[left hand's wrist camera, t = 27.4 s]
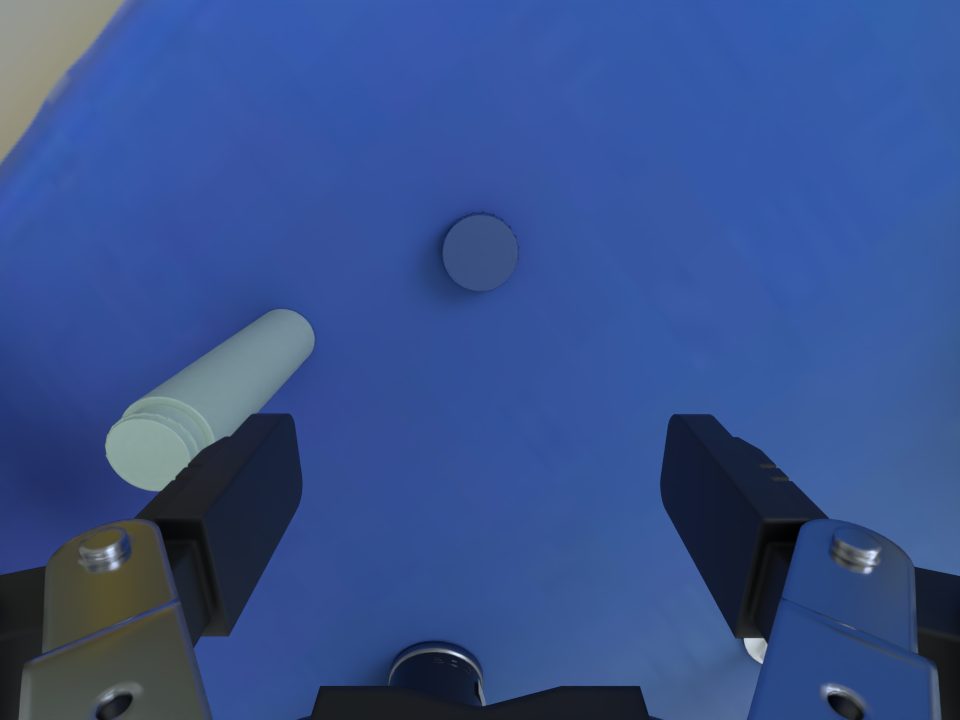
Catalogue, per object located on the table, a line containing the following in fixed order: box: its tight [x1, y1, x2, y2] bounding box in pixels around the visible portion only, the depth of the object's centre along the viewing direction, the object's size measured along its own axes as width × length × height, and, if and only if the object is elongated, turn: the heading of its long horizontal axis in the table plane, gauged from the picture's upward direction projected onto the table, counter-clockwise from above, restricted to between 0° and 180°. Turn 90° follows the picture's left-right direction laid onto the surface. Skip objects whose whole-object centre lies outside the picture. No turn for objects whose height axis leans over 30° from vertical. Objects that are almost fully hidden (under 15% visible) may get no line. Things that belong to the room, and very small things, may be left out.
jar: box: [105, 309, 315, 491], centre depth 32 cm, size 4×4×18 cm
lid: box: [442, 212, 519, 292], centre depth 37 cm, size 6×6×2 cm
